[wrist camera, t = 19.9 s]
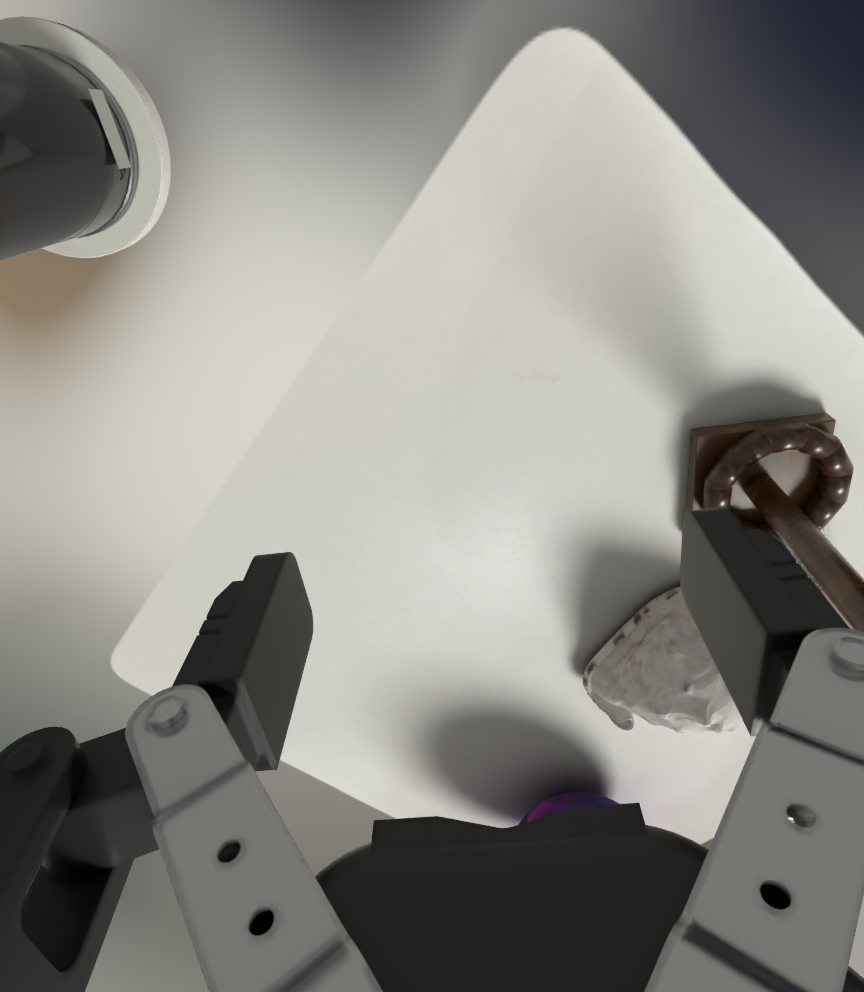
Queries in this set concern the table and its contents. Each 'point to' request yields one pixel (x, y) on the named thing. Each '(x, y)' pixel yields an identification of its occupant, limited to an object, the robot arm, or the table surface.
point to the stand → (781, 505)
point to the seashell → (661, 673)
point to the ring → (784, 439)
